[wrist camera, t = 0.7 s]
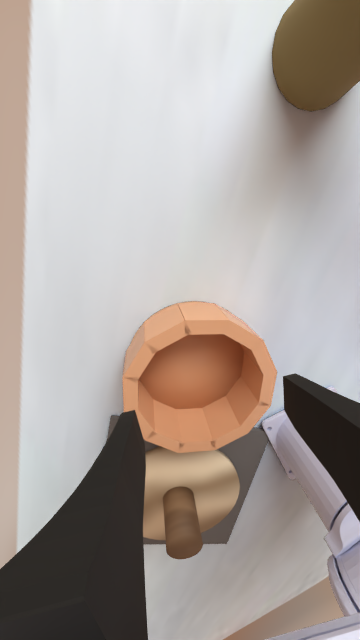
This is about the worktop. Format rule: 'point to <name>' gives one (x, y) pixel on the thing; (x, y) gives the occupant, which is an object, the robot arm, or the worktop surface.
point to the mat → (246, 462)
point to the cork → (317, 52)
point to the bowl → (197, 377)
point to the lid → (186, 497)
